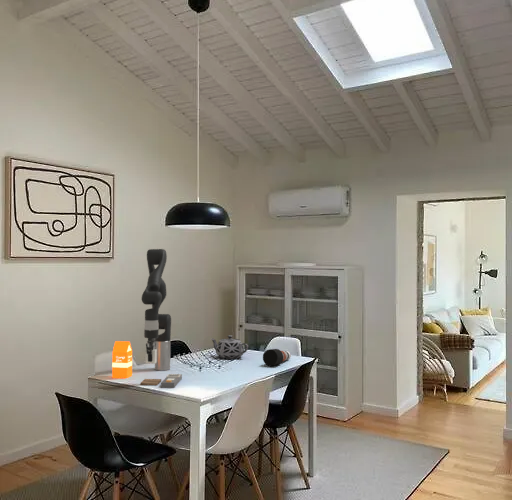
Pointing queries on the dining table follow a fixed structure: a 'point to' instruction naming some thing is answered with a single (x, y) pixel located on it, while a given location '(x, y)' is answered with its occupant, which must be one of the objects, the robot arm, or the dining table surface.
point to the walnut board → (150, 382)
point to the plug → (154, 357)
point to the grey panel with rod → (171, 380)
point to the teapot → (229, 348)
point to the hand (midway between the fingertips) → (151, 360)
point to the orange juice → (122, 360)
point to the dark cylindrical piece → (275, 356)
